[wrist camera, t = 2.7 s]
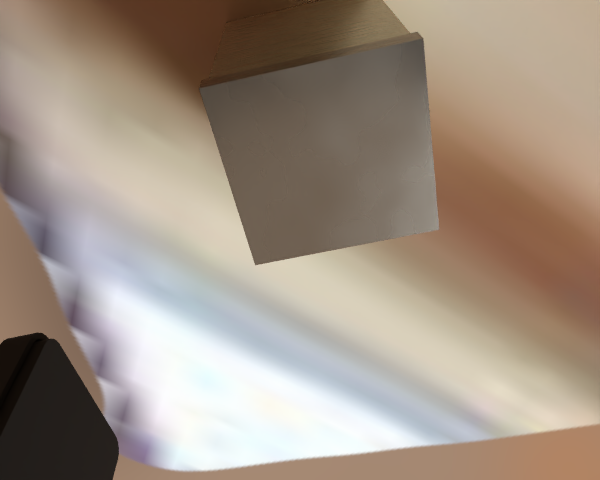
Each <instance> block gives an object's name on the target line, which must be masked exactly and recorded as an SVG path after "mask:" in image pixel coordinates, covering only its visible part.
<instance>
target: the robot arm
mask: <svg viewBox="0 0 600 480" xmlns="http://www.w3.org/2000/svg"><path fill="white" fill-rule="evenodd" d="M118 455H119V447H118V441H117V438H116V436H115V434H114V432H113V431H112V429H111V428H110V426H109V424H108V423H107V421H106V419H105V418H104V416H103V414H102V413H101V411H100V410H99V408H98V406H97V405H96V403H95V402H94V400H93V398H92V396H91V395H90V393H89V392H88V390H87V388H86V387H85V385H84V383H83V382H82V380H81V378H80V377H79V375H78V374H77V372H76V370H75V369H74V367H73V365H72V364H71V362H70V360H69V359H68V357H67V356H66V354H65V352H64V351H63V349H62V347H61V346H60V344H59V343H58V342H57V341H56V340H55V339H48V337H47V336H46V335H44V334H43V333H33V334H29V335H24V336H18V337H14V338H8V339H6V340H4V341H3V342H2V343H1V344H0V480H113V475H114V471H115V468H116V464H117V460H118Z"/></svg>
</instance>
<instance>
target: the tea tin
mask: <svg viewBox="0 0 600 480" xmlns="http://www.w3.org/2000/svg"><path fill="white" fill-rule="evenodd" d="M199 90H200V93H201V96H202V99H203V103H204V106H205V109H206V112H207V115H208V118H209V121H210V125H211V128H212V131H213V134H214V137H215V140H216V143H217V146H218V150H219V153H220V156H221V159H222V162H223V165H224V168H225V172H226V175H227V178H228V181H229V184H230V187H231V190H232V194H233V197H234V200H235V203H236V206H237V209H238V212H239V216H240V219H241V222H242V225H243V228H244V231H245V234H246V237H247V241H248V244H249V247H250V250H251V253H252V256H253V259H254V263H255V265H258V264H264V263H269V262H274V261H279V260H284V259H289V258H295V257H300V256H305V255H310V254H315V253H320V252H326V251H331V250H336V249H341V248H346V247H351V246H357V245H362V244H367V243H372V242H377V241H382V240H388V239H393V238H398V237H403V236H408V235H413V234H419V233H424V232H429V231H434V230H439V222H438V210H437V198H436V186H435V175H434V163H433V151H432V139H431V127H430V115H429V103H428V91H427V79H426V67H425V55H424V43H423V38H422V37H421V35H420V34H419V33H418V32H415V33H410V32H409V31H408V30H407V29H406V28H405V26H404V25H403V24H402V23H401V22H400V20H399V19H398V18H397V17H396V16H395V14H394V13H393V12H392V11H391V10H390V8H389V7H388V6H387V5H386V4H385V2H384V1H383V0H320V1H316V2H312V3H307V4H303V5H299V6H295V7H290V8H286V9H282V10H277V11H273V12H269V13H264V14H260V15H256V16H252V17H247V18H243V19H239V20H234V21H230V22H227V23H226V26H225V29H224V32H223V35H222V38H221V42H220V45H219V48H218V51H217V54H216V57H215V60H214V63H213V67H212V70H211V73H210V76H209V79H205V80H202V81H201V84H200V87H199Z"/></svg>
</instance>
